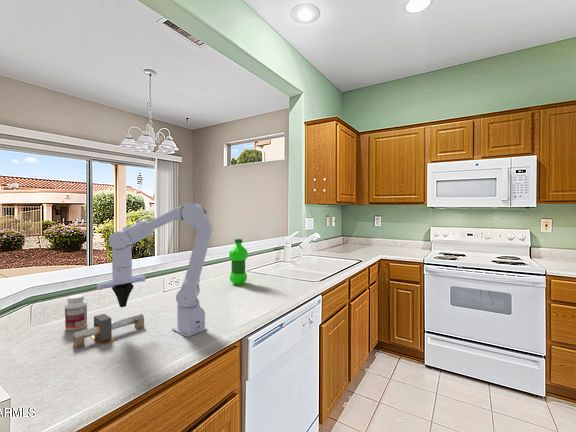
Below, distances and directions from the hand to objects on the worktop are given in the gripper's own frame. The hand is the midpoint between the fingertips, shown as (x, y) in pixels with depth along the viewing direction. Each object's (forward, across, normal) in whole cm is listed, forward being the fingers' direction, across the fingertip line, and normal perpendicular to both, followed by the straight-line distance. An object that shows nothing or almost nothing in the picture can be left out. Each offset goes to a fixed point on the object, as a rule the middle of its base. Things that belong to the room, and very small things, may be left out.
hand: (122, 306), depth 97 cm
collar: (+9, +6, 0) cm, 11 cm away
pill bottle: (+9, +9, -17) cm, 21 cm away
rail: (+9, +4, 0) cm, 10 cm away
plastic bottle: (+9, -67, -17) cm, 70 cm away
